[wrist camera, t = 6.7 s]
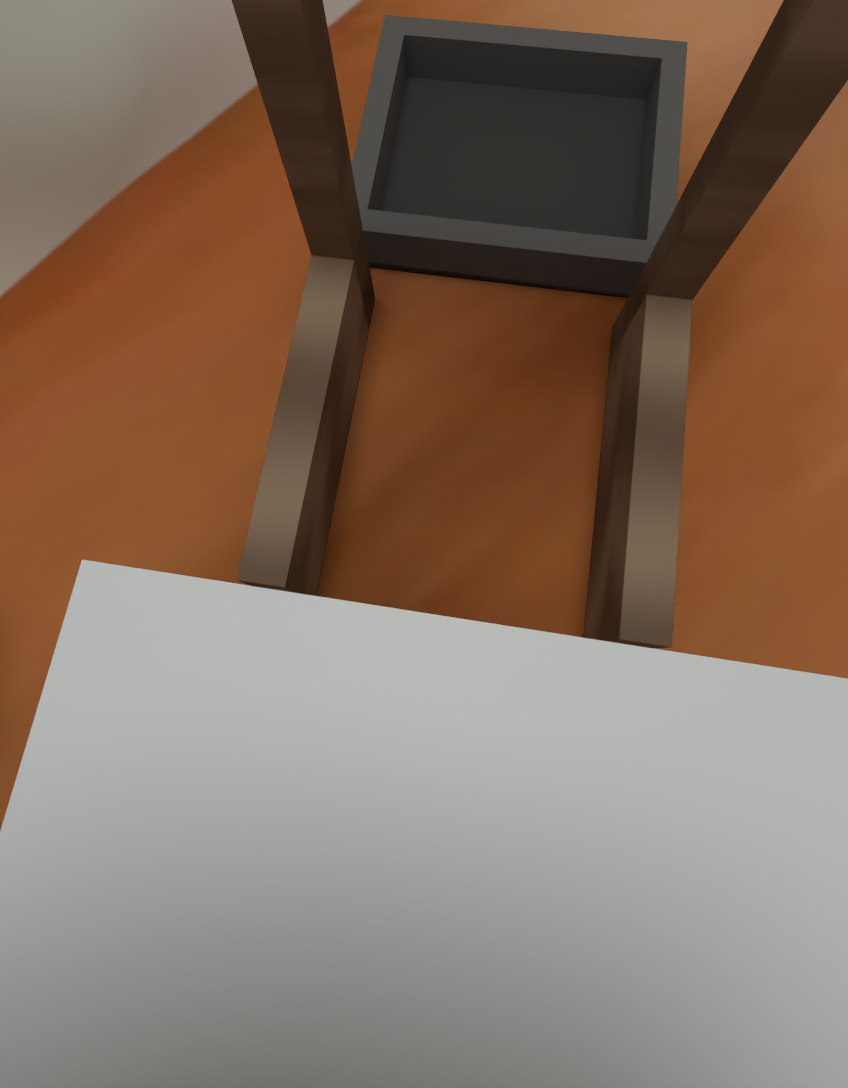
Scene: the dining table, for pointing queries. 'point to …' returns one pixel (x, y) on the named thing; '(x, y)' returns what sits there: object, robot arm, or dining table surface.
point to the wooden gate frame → (637, 336)
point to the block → (415, 854)
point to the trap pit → (519, 153)
